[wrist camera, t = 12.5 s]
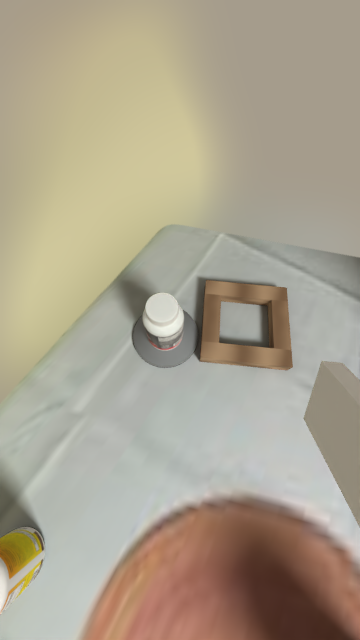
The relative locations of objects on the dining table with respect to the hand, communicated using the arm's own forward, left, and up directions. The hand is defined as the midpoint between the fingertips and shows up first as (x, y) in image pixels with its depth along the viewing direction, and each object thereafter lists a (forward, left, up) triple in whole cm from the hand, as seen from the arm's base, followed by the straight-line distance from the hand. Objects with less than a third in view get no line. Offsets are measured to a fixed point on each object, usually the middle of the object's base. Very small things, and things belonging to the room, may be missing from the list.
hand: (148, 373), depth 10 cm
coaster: (+2, -12, -28) cm, 30 cm away
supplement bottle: (+15, +16, -28) cm, 35 cm away
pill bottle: (+2, -12, -27) cm, 30 cm away
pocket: (-10, -15, -28) cm, 33 cm away
